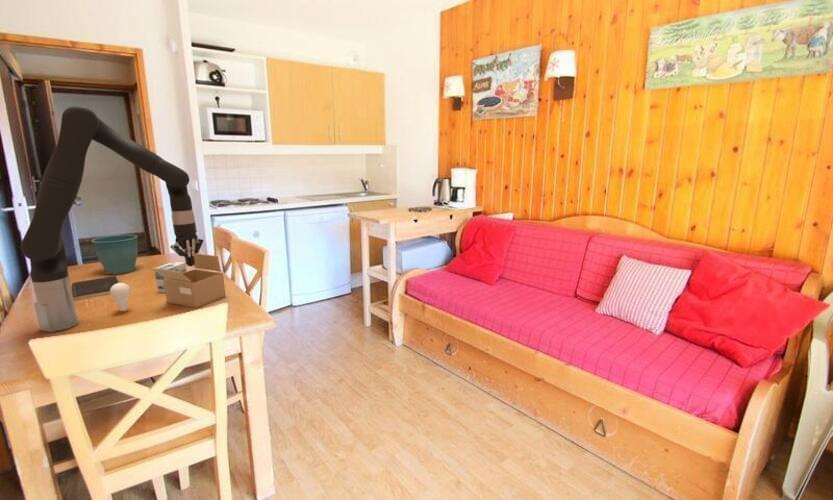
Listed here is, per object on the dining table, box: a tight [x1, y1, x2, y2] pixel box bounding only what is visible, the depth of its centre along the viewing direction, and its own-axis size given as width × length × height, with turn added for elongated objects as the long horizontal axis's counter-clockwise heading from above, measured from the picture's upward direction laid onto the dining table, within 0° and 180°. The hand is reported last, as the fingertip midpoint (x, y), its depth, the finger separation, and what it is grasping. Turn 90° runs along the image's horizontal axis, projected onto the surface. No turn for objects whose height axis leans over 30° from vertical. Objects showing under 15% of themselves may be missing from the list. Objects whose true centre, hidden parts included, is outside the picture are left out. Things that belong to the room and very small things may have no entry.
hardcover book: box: [71, 275, 120, 301], centre depth 177 cm, size 16×23×2 cm
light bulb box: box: [154, 261, 187, 293], centre depth 176 cm, size 11×7×11 cm, turn 168°
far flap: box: [193, 253, 222, 272], centre depth 166 cm, size 6×14×1 cm
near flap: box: [151, 267, 191, 282], centre depth 153 cm, size 6×14×1 cm
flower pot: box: [91, 234, 139, 275], centre depth 201 cm, size 18×18×17 cm
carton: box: [163, 268, 227, 309], centre depth 163 cm, size 14×16×10 cm
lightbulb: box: [109, 282, 131, 312], centre depth 151 cm, size 6×6×11 cm
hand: (190, 265), depth 159 cm, fingers closed
